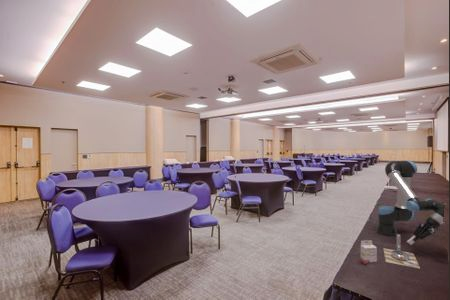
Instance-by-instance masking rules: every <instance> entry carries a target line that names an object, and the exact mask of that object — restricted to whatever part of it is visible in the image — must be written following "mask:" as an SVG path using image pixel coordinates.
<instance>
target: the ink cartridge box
mask: <svg viewBox="0 0 450 300" xmlns="http://www.w3.org/2000/svg"><path fill="white" fill-rule="evenodd" d="M377 250H378V247H377V246H376V245H374V244H373V239H370V240H360V261H361V263H362V264H364V265H368V263H376V262H378V258H377V257H378V256H377V255H378V251H377Z"/></svg>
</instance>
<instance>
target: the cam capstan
mask: <svg viewBox="0 0 450 300" xmlns="http://www.w3.org/2000/svg"><path fill="white" fill-rule="evenodd" d="M401 235H402V234H400V233H397V235H396V250H397V251H392V252H391V255H392V257H394V258H396V259H399V260H409V255H408V254H407V253H405V252H406V251H403V250H401V249H402V247H401V245H402V242H401V239H402V236H401Z"/></svg>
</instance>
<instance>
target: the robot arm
mask: <svg viewBox="0 0 450 300" xmlns="http://www.w3.org/2000/svg"><path fill="white" fill-rule="evenodd" d="M384 171H385V175H386V177H387V178H389V179H390V180H391V182H392V183H393V184H394V186H395V187H396V188H397V192H396V194H397V195H396V203H395V204H394V206H391V205H383V206H382V205H381V206H379V207H378V210H377V211H378V212H377V213H378V215H377V216H378V223H377V226H376V231H375V232H376V233H378V234H380V235H382V236H388V237H397V234H398V231H397V228H396V226H395V222H411V221H413V220H414V218H415V212H434V213H432V214H430V216H429V217H428V218H426V219H425V221H426V222H424V223H419V225H418V226H417V227H416V229H415V230H414V231H413V232H412V234H413V235H412V236H411V237H410V238H409V239H408V240H406V242H407V243H408V244H409V245H410V246H412V245H413V244H415V243H416V242H418V240H424V239H425V238H428V237H429V236H431V235H433V234H435V233H436V232H435V229H438V228H440V227H441V226H442V225H443V224H444V223H445V222H443V218H444V208H445V204H446V203H447V202H446V203H443V202H440V201H438V200H436V199H433V198H427V199H425V200H421V199H419V197H418V196H417V195H416V193H415V191H413V190H412V188H411V179H412V178H413V177H414V175H415V174H417V173H418V166H417V165H416V164H415V162H413V161H412V160H397V161H396V160H393V161H390V162H388V163H387V164H386V166H385V168H384Z"/></svg>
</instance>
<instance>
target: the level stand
mask: <svg viewBox="0 0 450 300" xmlns="http://www.w3.org/2000/svg"><path fill="white" fill-rule="evenodd" d="M392 251H398V250H397V249H390V248H384V247H383V254H384V259H385V263H389V264H393V265H394V264H395V265H399V266H404V267H411V268H416V269H421V268H420V265H419V263H418V260H417V258H416V256H415V253H412V252H407V251H404V252H405V253H407V254H408V255H409V260H399V259H396V258H394V257H392V255H391V252H392Z"/></svg>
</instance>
